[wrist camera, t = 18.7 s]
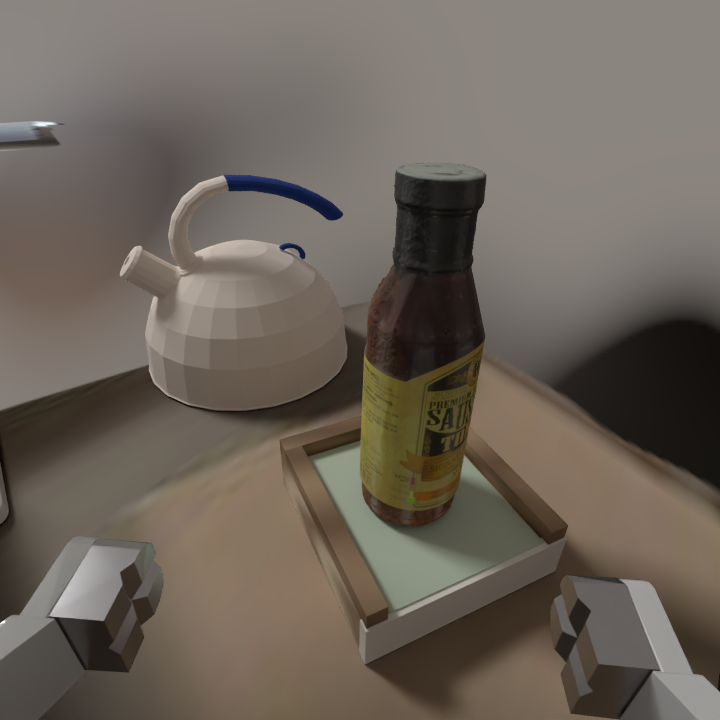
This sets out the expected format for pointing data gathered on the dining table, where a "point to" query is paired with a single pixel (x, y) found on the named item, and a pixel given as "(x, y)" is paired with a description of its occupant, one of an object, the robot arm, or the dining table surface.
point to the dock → (417, 539)
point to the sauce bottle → (423, 348)
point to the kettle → (239, 311)
